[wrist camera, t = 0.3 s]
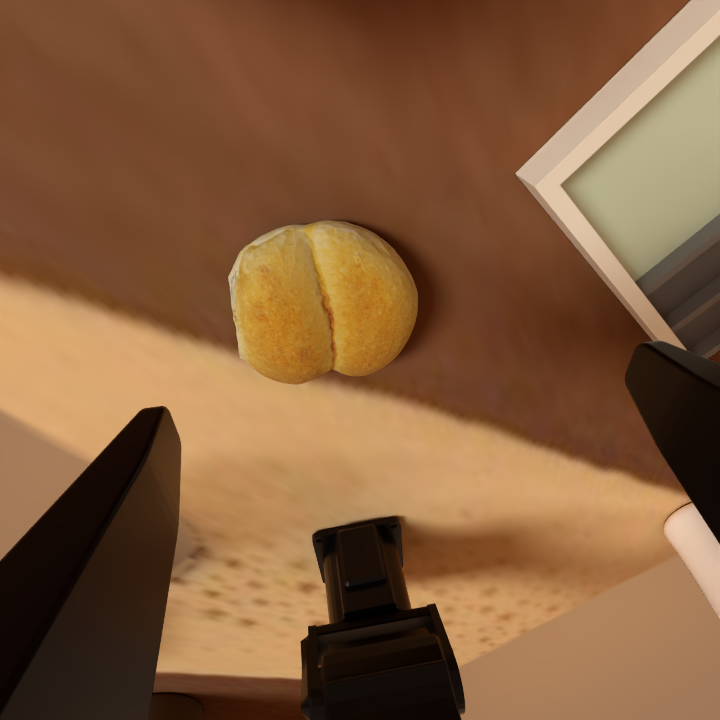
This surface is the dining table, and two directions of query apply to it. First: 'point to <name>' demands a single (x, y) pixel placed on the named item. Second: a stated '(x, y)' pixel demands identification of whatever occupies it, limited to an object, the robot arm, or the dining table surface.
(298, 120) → the dining table surface
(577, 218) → the box
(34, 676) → the robot arm
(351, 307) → the bread roll
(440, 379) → the dining table surface
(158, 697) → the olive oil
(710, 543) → the drinking glass
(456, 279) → the dining table surface
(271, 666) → the dining table surface
